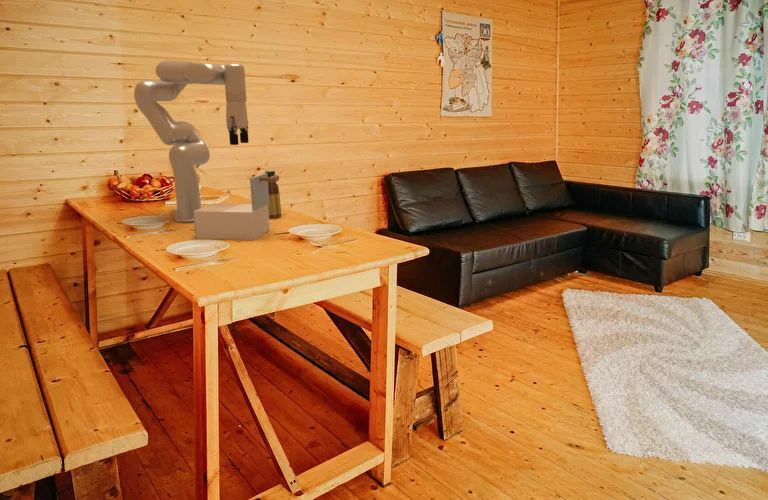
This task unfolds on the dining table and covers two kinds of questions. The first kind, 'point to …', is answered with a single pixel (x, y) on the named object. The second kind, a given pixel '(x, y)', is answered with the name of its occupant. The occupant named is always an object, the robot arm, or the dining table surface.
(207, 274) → the dining table surface
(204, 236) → the carton
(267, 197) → the flap
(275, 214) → the sauce bottle
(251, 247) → the dining table surface
